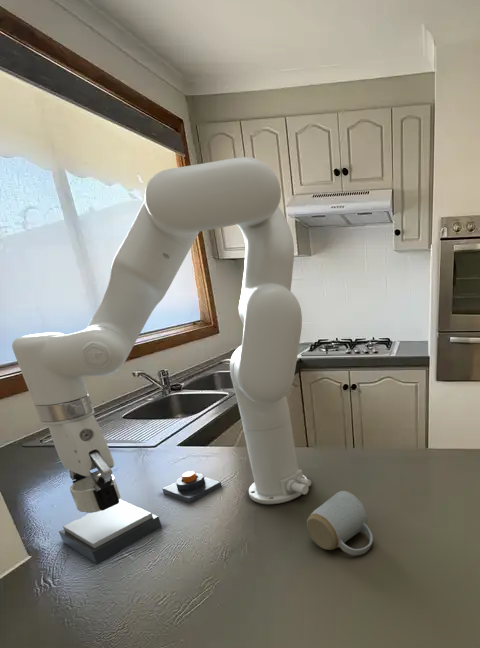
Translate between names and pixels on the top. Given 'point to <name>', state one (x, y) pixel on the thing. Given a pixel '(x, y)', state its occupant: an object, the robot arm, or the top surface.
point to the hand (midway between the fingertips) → (99, 500)
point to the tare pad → (192, 488)
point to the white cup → (87, 495)
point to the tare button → (189, 476)
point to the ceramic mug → (339, 523)
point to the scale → (109, 530)
